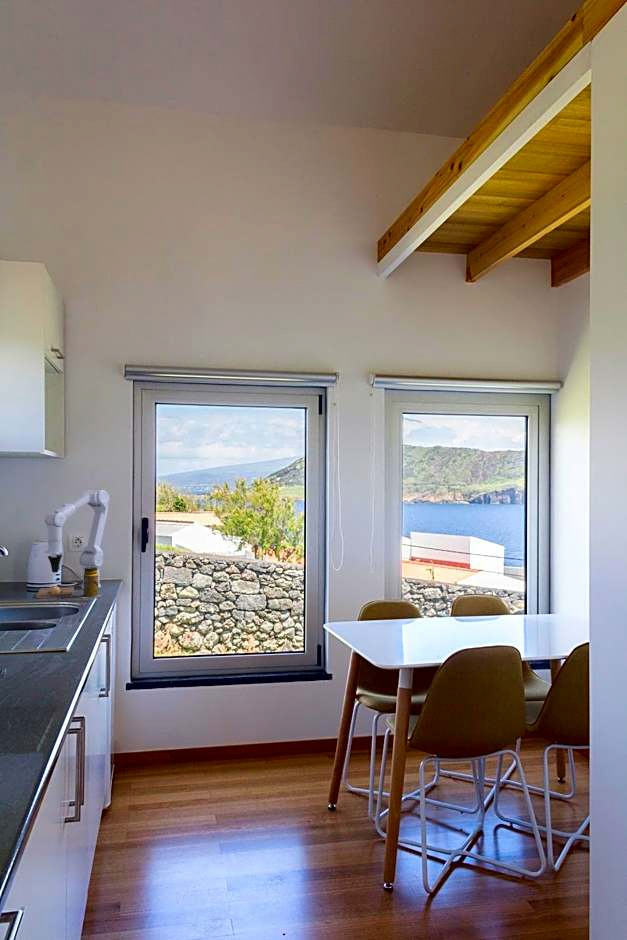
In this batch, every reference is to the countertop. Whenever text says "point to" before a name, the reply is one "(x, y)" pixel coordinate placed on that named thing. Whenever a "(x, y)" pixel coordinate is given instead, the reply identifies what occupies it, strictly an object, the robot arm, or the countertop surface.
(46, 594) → the deck
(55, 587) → the ball
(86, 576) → the condiment
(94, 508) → the robot arm
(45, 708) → the countertop surface
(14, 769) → the countertop surface
